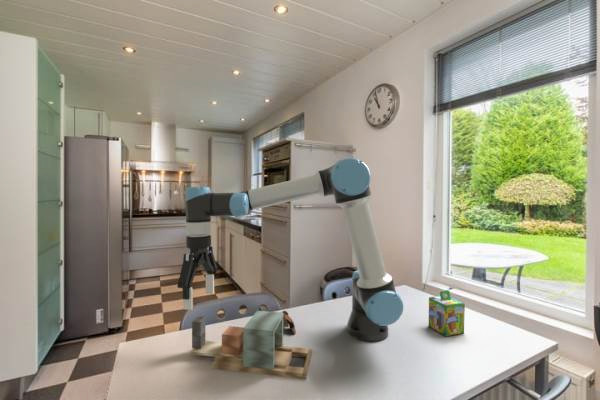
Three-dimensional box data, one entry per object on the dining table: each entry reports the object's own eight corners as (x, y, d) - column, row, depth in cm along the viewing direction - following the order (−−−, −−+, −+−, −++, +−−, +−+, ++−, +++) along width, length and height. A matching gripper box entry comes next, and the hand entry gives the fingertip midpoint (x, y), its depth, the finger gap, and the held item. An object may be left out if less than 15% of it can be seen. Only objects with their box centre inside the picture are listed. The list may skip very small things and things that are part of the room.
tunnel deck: (311, 353, 91) (312, 314, 91) (305, 379, 79) (306, 334, 78) (230, 345, 96) (230, 308, 96) (212, 368, 83) (212, 325, 83)
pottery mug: (297, 340, 101) (286, 322, 99) (274, 349, 102) (263, 332, 100) (298, 317, 112) (289, 301, 110) (277, 326, 114) (268, 310, 112)
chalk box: (445, 337, 103) (446, 297, 102) (427, 326, 112) (428, 288, 111) (465, 333, 106) (466, 294, 105) (445, 322, 114) (446, 286, 114)
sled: (258, 348, 91) (258, 319, 91) (251, 360, 84) (251, 329, 84) (199, 342, 95) (199, 314, 94) (188, 353, 88) (188, 324, 88)
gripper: (206, 229, 103) (207, 287, 104) (163, 241, 79) (164, 316, 79) (226, 230, 102) (227, 288, 102) (187, 241, 77) (189, 318, 78)
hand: (199, 300), depth 91 cm, fingers open, 13 cm apart
